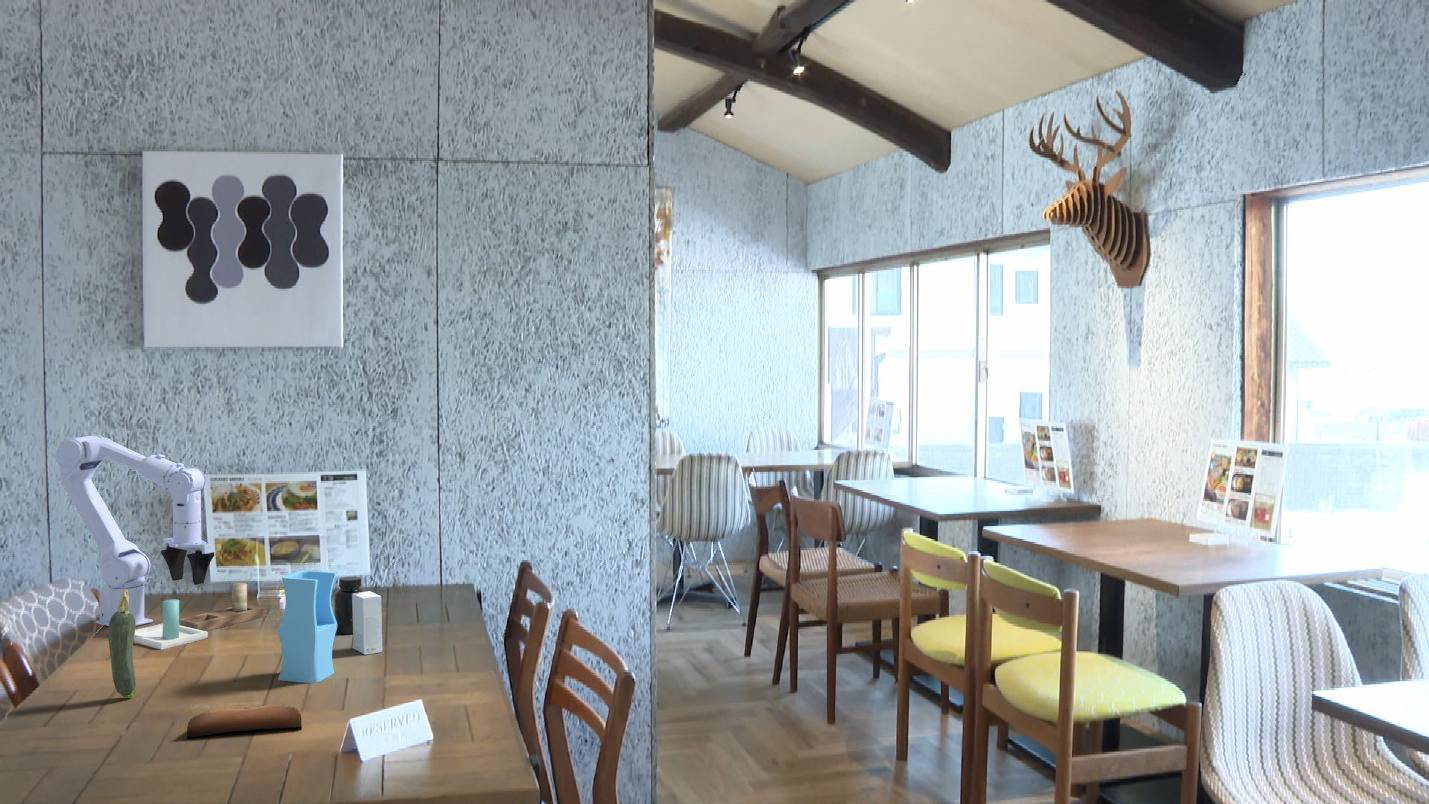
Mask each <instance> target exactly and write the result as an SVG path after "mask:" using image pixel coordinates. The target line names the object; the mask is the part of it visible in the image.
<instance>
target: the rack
mask: <svg viewBox="0 0 1429 804" xmlns="http://www.w3.org/2000/svg"><path fill="white" fill-rule="evenodd" d="M266 616H267V608H266V607H262V606H257V605H254V604H248V603H247V611H244V612H239V613H236V612H232V606H231V607H227V608H223V609H222V608H221V609H218V610H213V611H209V612H204V613H200V614H195V615H191V616H186V617H181V618H179V625H181V626H185V627H189V628H194V629H198V630H202V631H207V632H208V631H211V630H214V629H219V628H223V627H227V626H231V625H237V624H240V623H244V622H249V621H252V620H256V619H260V618H266Z"/></svg>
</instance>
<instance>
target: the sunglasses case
mask: <svg viewBox="0 0 1429 804" xmlns="http://www.w3.org/2000/svg"><path fill="white" fill-rule="evenodd" d="M302 725H303V724H302V714H301V712H300V710H299V709H298V708H296V707H295V706H290V705H289V706H288V705H284V704H267V705H261V706H255V707H249V706H247V707H244V708H218V709H213V710H210V711H205V712H202V713H199V714H197V715H195V716H193V717H192V718H190V719H189V720H188V724H187V727H186V740H188V739H190V738H197V737H205V736H209V735H210V736H211V735H216V734H224V733H228V732H246V731H247V732H248V731H256V730H273V729H275V730H276V729H284V728H285V729H288V728H295V729H296V728H299V729H300V730H303V727H302Z"/></svg>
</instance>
